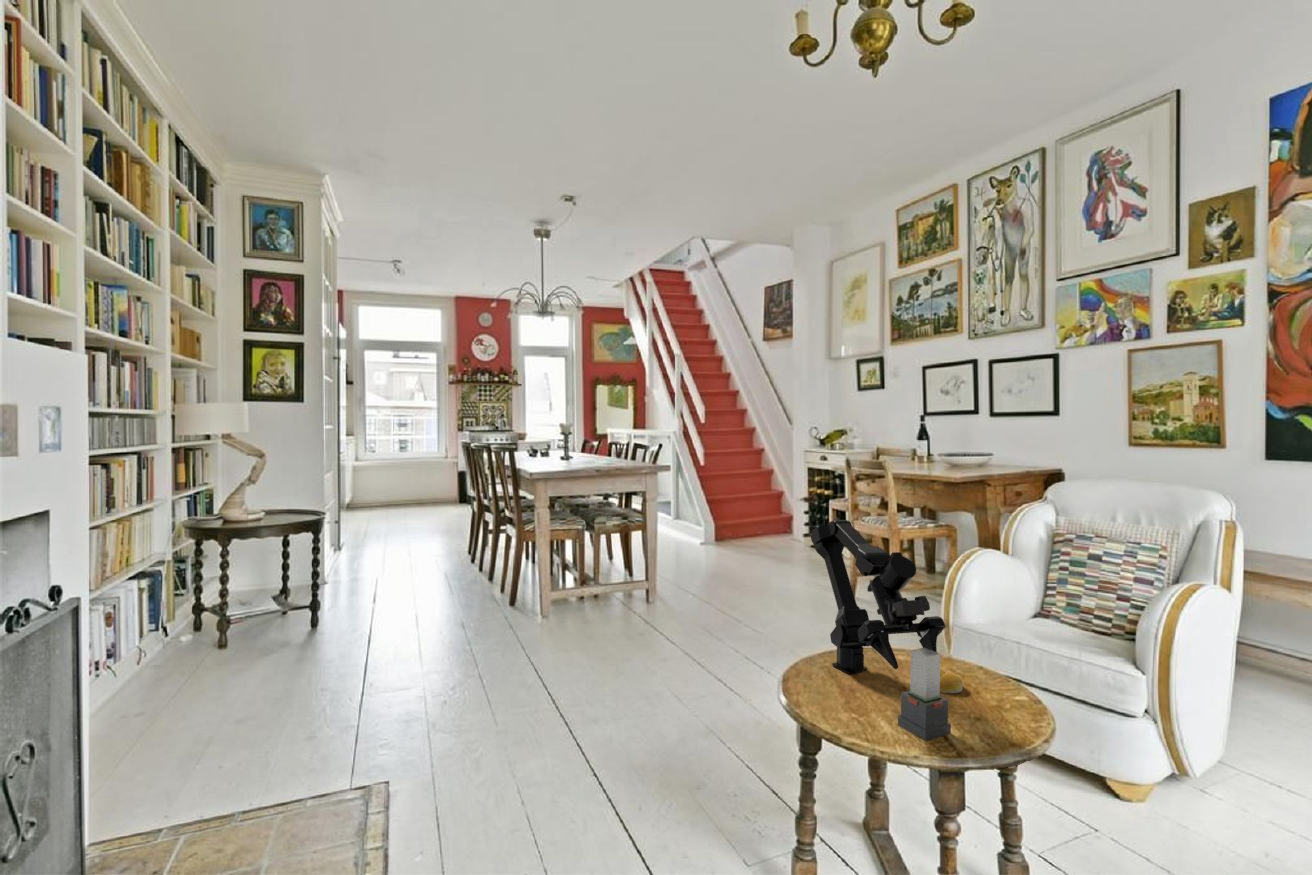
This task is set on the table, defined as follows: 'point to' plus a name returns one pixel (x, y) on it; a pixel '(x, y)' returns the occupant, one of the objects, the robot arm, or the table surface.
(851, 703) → the table surface
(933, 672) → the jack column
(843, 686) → the table surface
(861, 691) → the table surface
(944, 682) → the bread roll
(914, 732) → the dark grey box
